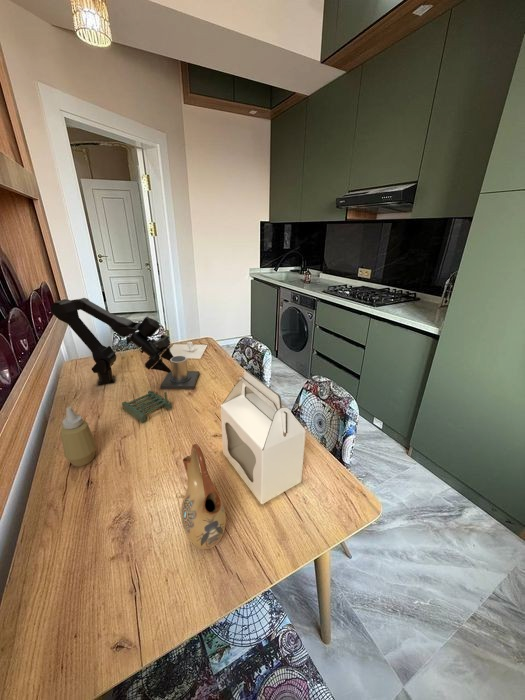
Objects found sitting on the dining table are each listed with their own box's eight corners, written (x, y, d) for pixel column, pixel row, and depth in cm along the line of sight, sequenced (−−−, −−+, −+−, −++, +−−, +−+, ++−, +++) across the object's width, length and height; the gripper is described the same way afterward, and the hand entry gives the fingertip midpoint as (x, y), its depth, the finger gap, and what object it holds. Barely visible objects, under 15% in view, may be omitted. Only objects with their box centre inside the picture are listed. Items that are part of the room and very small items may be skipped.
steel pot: (168, 379, 128) (166, 360, 124) (179, 372, 134) (177, 354, 130) (181, 382, 125) (179, 363, 122) (191, 375, 131) (190, 357, 127)
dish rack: (122, 408, 110) (119, 391, 107) (151, 395, 119) (148, 379, 116) (142, 422, 102) (139, 404, 99) (171, 408, 111) (169, 391, 108)
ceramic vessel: (175, 515, 69) (163, 430, 60) (210, 499, 74) (204, 417, 64) (197, 582, 56) (186, 487, 47) (239, 557, 61) (237, 466, 51)
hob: (160, 389, 123) (160, 384, 123) (169, 374, 136) (169, 369, 136) (193, 389, 124) (193, 384, 123) (199, 374, 137) (199, 369, 136)
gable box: (222, 452, 89) (218, 371, 78) (258, 437, 96) (259, 360, 85) (262, 505, 72) (263, 411, 61) (302, 482, 79) (310, 394, 68)
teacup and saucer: (195, 352, 160) (195, 345, 159) (181, 352, 160) (180, 345, 159) (198, 346, 168) (198, 340, 167) (185, 346, 168) (184, 339, 167)
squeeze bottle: (105, 454, 87) (92, 404, 80) (79, 473, 81) (63, 420, 74) (87, 446, 90) (73, 397, 84) (61, 464, 84) (44, 412, 77)
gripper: (149, 338, 112) (180, 364, 117) (163, 324, 129) (189, 347, 134) (131, 357, 115) (162, 381, 119) (147, 340, 132) (174, 362, 137)
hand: (173, 367), depth 127 cm, fingers open, 9 cm apart
